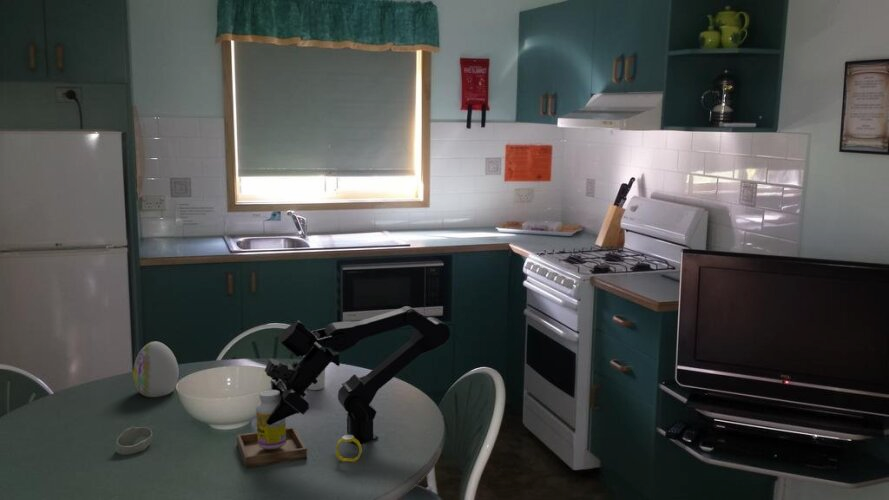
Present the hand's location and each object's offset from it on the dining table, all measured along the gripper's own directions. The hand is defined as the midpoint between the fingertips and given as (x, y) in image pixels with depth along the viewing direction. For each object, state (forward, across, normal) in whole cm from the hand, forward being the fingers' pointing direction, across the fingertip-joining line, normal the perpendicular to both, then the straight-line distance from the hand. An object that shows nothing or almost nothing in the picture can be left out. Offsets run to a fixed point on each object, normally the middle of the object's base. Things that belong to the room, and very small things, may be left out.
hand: (265, 418), depth 194 cm
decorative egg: (+22, -53, -10) cm, 58 cm away
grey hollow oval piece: (+26, -14, -14) cm, 33 cm away
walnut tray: (+5, 0, +7) cm, 9 cm away
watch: (-6, +11, +18) cm, 22 cm away
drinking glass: (-9, -40, +21) cm, 46 cm away
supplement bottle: (+4, 0, +6) cm, 7 cm away
